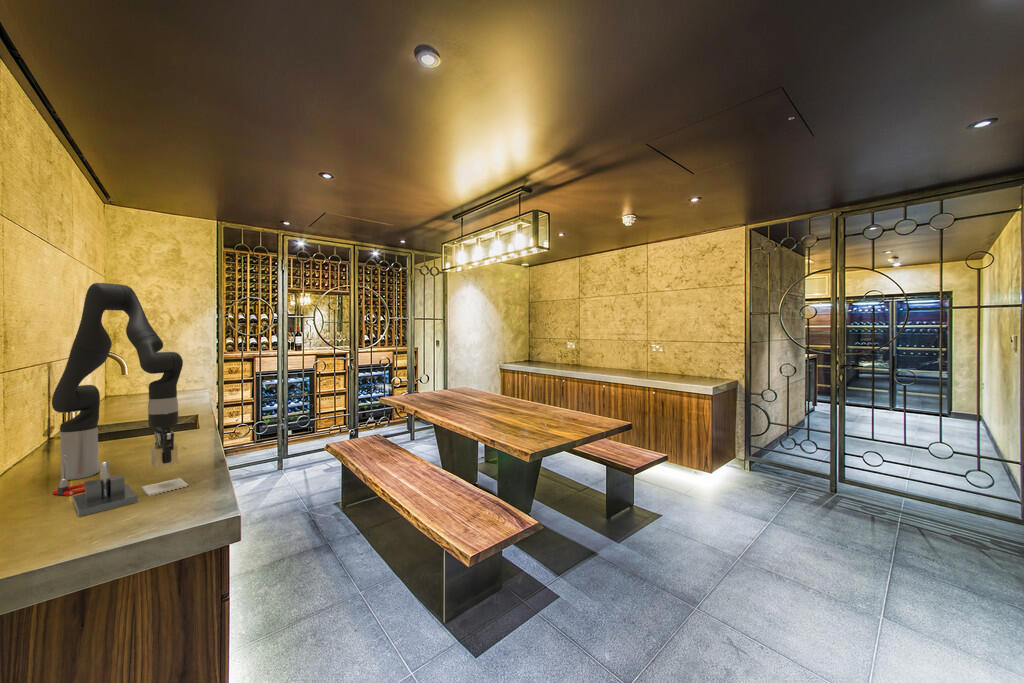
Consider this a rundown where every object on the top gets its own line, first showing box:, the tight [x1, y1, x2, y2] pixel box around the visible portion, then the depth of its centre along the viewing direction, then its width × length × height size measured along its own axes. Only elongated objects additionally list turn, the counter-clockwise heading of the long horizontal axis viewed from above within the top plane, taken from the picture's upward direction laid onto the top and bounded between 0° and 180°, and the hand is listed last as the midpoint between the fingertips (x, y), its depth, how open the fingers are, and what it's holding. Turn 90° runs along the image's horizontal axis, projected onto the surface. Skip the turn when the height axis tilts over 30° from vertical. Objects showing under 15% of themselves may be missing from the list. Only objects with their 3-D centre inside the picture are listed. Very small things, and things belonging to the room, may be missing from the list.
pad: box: [141, 477, 189, 497], centre depth 130 cm, size 10×10×1 cm
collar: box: [150, 443, 179, 469], centre depth 130 cm, size 6×6×6 cm
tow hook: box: [51, 455, 85, 497], centre depth 129 cm, size 8×13×9 cm
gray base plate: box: [72, 460, 138, 518], centre depth 119 cm, size 16×12×12 cm
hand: (164, 460), depth 130 cm, fingers closed on collar, 5 cm apart
